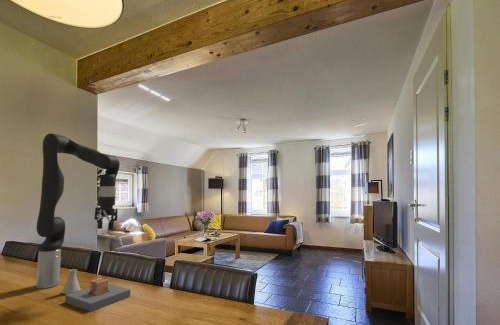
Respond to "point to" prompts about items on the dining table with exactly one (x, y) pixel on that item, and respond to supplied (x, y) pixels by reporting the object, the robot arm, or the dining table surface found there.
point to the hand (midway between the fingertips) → (105, 229)
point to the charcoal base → (97, 298)
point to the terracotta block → (98, 286)
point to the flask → (71, 283)
